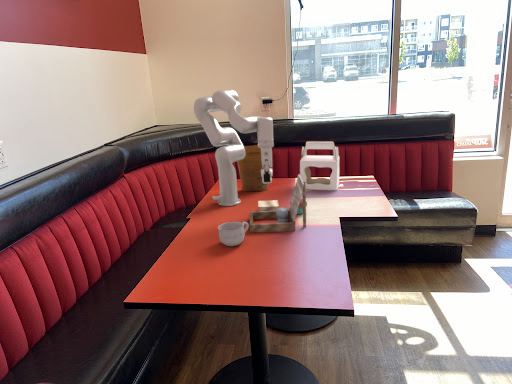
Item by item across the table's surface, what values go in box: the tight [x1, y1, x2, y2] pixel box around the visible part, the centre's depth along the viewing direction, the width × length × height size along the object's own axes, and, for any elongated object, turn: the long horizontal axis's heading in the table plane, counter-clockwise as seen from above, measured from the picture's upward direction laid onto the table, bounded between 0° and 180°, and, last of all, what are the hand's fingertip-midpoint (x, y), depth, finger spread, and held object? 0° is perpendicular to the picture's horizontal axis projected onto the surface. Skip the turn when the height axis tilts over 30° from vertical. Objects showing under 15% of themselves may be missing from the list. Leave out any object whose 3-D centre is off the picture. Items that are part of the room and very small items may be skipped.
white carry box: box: [299, 140, 340, 191], centre depth 232 cm, size 22×13×28 cm, turn 72°
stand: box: [257, 199, 280, 211], centre depth 193 cm, size 10×10×5 cm
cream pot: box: [261, 167, 273, 185], centre depth 189 cm, size 6×6×7 cm
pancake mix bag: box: [237, 144, 269, 192], centre depth 232 cm, size 7×19×28 cm, turn 82°
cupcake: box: [289, 198, 308, 215], centre depth 191 cm, size 9×8×12 cm
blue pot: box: [276, 207, 289, 223], centre depth 179 cm, size 6×6×7 cm
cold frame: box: [249, 173, 307, 234], centre depth 176 cm, size 25×18×21 cm
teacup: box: [217, 221, 250, 247], centre depth 159 cm, size 14×11×8 cm
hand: (266, 179), depth 189 cm, fingers closed on cream pot, 5 cm apart
